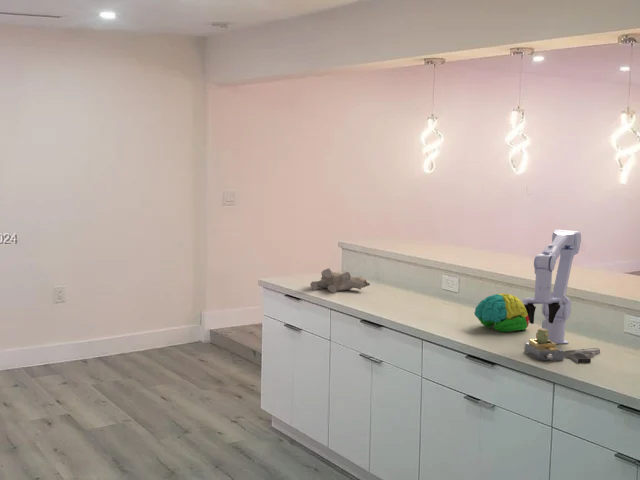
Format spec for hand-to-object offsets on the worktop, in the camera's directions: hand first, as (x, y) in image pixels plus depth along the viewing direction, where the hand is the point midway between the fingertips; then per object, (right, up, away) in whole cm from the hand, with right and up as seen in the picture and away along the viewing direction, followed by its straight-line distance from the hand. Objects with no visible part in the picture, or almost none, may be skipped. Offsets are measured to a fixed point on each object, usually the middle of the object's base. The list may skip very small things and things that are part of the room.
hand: (541, 323), depth 275 cm
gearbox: (-1, -11, -8) cm, 14 cm away
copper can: (+1, -10, +5) cm, 11 cm away
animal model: (-71, +4, +110) cm, 132 cm away
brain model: (-6, -7, +35) cm, 36 cm away
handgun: (+15, -12, -7) cm, 20 cm away
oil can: (-1, -8, -5) cm, 9 cm away
